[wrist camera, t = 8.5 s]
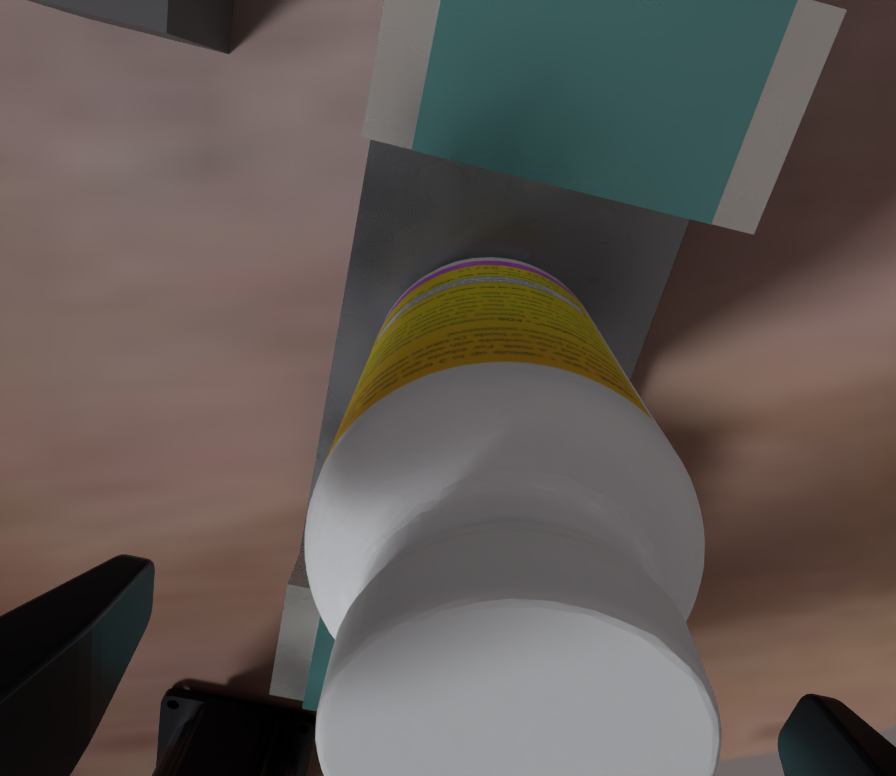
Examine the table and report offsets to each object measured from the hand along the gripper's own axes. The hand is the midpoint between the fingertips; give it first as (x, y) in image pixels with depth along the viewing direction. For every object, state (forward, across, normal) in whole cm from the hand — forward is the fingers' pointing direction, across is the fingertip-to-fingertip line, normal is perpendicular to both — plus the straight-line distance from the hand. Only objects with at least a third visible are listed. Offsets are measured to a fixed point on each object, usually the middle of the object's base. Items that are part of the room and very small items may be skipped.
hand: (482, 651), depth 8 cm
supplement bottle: (+12, 0, 0) cm, 12 cm away
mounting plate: (+13, 0, 0) cm, 13 cm away
